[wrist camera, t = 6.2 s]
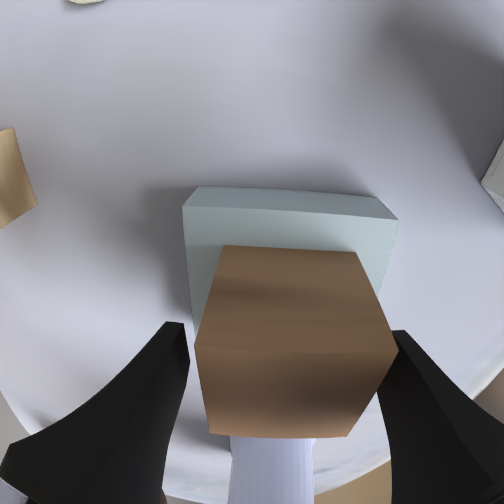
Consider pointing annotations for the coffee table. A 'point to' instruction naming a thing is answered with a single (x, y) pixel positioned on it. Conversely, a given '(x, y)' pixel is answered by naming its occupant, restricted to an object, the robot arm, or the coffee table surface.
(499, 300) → the coffee table surface
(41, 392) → the coffee table surface
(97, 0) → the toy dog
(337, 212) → the slab
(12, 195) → the oak cube
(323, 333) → the walnut cube
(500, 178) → the small box
